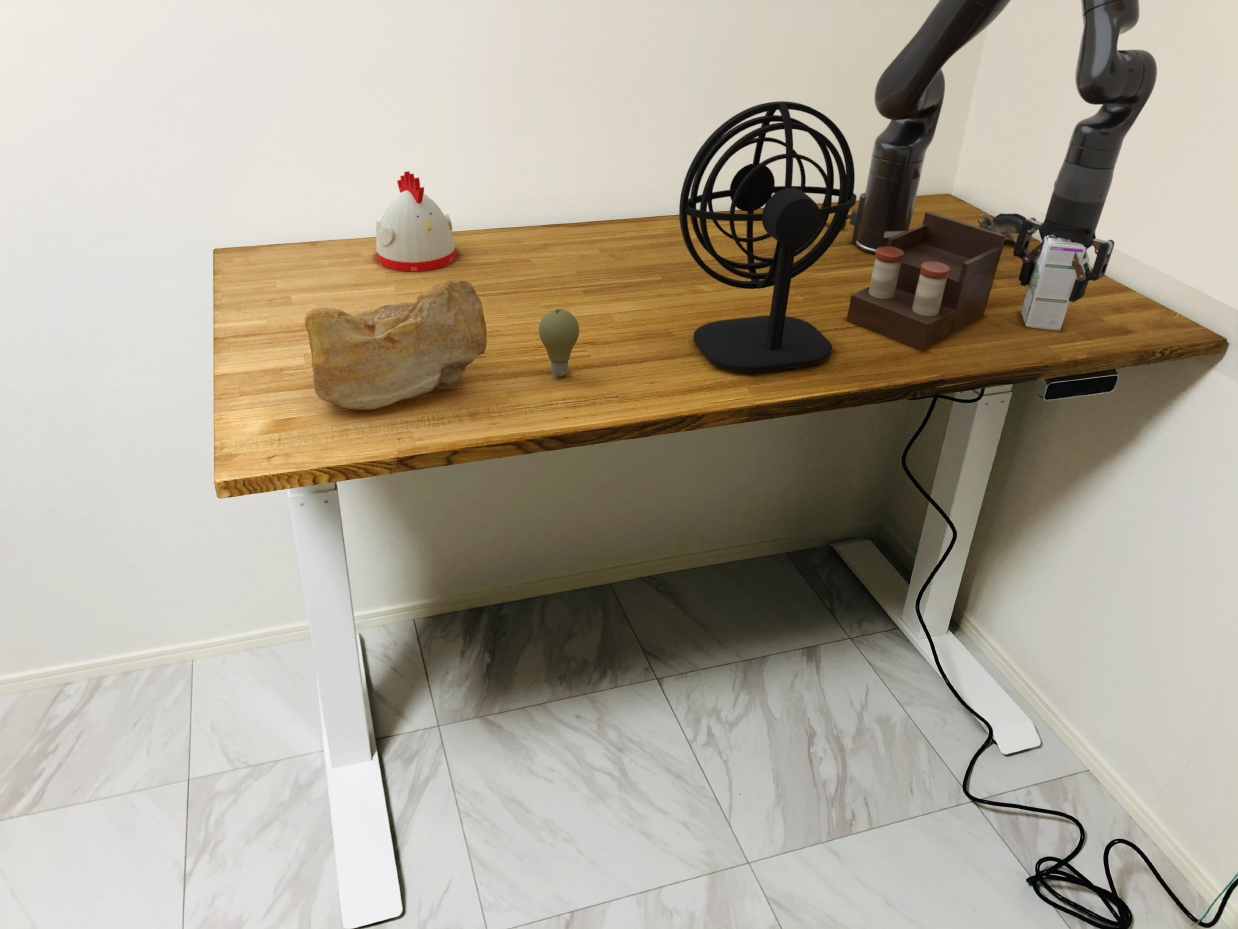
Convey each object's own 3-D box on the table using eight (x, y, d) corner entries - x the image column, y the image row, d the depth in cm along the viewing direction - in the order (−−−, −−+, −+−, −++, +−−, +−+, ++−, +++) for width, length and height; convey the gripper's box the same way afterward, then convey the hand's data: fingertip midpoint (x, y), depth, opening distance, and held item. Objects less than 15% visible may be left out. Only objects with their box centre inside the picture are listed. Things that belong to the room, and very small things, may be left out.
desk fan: (813, 312, 153) (850, 88, 133) (867, 361, 139) (917, 119, 119) (658, 329, 146) (672, 95, 126) (698, 383, 132) (722, 129, 112)
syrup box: (1061, 331, 150) (1090, 245, 142) (1023, 327, 151) (1049, 241, 143) (1055, 316, 155) (1082, 232, 146) (1018, 312, 155) (1043, 228, 147)
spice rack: (922, 351, 142) (943, 264, 135) (846, 320, 151) (861, 237, 143) (983, 316, 154) (1006, 235, 146) (909, 289, 162) (927, 211, 154)
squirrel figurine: (983, 245, 177) (1033, 240, 176) (980, 208, 177) (1030, 202, 176) (974, 253, 185) (1022, 248, 183) (972, 218, 185) (1020, 212, 183)
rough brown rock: (471, 349, 140) (460, 252, 132) (498, 394, 126) (487, 288, 119) (312, 375, 133) (290, 275, 126) (322, 425, 120) (298, 316, 112)
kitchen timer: (400, 277, 159) (390, 190, 150) (363, 252, 168) (353, 168, 159) (470, 260, 166) (465, 176, 158) (431, 236, 175) (425, 156, 167)
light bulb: (539, 366, 134) (538, 302, 129) (577, 365, 135) (578, 302, 129) (540, 385, 130) (538, 320, 124) (579, 384, 130) (580, 319, 125)
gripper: (1138, 199, 139) (1102, 300, 148) (1046, 175, 147) (1017, 273, 156) (1117, 210, 134) (1081, 313, 143) (1023, 185, 143) (996, 284, 152)
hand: (1048, 292), depth 150 cm, fingers closed on syrup box, 7 cm apart
